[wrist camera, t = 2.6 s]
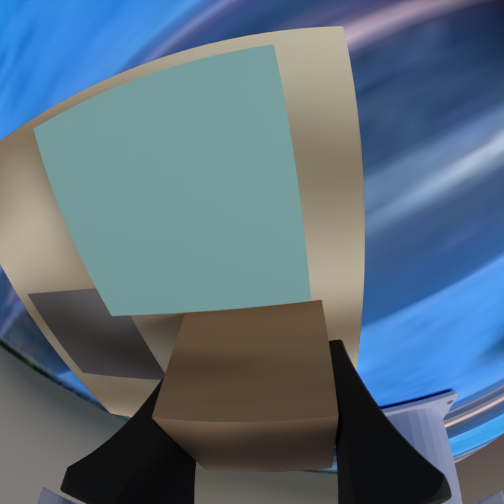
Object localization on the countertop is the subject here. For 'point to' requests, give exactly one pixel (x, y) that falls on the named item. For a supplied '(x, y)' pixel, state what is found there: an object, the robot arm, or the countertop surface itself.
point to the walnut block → (252, 389)
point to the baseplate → (168, 325)
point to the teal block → (184, 188)
